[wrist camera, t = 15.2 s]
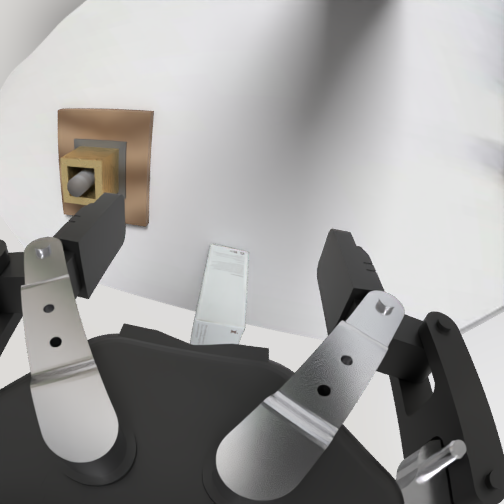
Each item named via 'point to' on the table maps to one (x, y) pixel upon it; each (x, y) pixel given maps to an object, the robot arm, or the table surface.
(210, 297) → the skincare box
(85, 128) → the post stand
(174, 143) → the table surface
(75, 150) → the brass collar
